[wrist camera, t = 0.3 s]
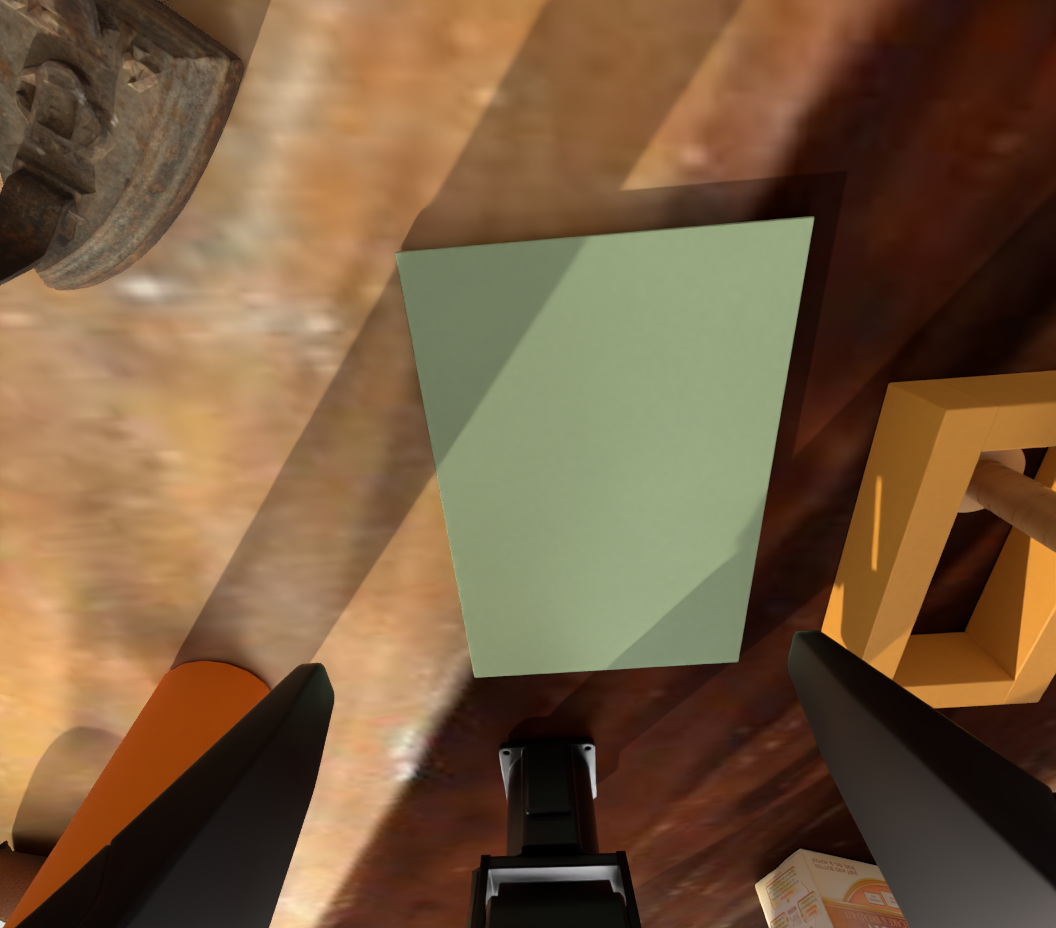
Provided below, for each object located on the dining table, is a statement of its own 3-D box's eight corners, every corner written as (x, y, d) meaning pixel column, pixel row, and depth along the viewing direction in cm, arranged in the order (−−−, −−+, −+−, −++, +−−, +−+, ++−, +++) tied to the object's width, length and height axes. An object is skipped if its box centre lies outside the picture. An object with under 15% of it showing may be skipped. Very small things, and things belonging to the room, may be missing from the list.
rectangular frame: (986, 653, 30) (1038, 703, 27) (811, 663, 30) (843, 714, 27) (1130, 363, 21) (1230, 388, 18) (888, 382, 22) (947, 409, 19)
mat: (735, 656, 30) (738, 662, 29) (475, 672, 30) (474, 678, 30) (809, 216, 19) (815, 216, 18) (396, 251, 19) (394, 252, 19)
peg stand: (997, 503, 25) (1145, 594, 19) (916, 509, 25) (1038, 600, 19) (1028, 431, 23) (1202, 506, 17) (941, 438, 23) (1084, 515, 17)
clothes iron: (259, 39, 16) (17, 48, 9) (207, 306, 23) (42, 439, 16) (10, -134, 14) (-596, -316, 7) (31, 218, 21) (-263, 326, 13)
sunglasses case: (15, 890, 41) (-67, 968, 34) (44, 806, 42) (-31, 866, 35) (236, 919, 44) (200, 996, 37) (261, 839, 44) (229, 901, 38)
